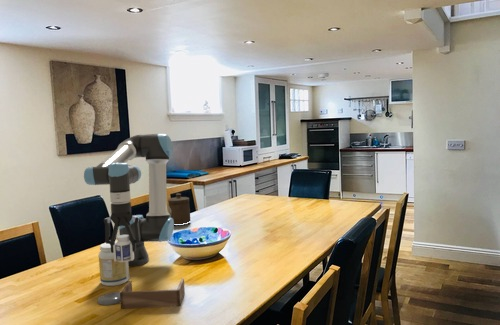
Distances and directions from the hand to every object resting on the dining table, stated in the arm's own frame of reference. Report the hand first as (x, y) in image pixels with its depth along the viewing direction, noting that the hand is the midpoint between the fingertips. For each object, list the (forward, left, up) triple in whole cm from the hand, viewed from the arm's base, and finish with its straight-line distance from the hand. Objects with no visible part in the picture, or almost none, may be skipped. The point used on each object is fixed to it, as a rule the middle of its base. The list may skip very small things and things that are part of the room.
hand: (124, 259), depth 157 cm
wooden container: (-124, +2, -15) cm, 125 cm away
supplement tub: (-17, -10, -15) cm, 25 cm away
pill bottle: (0, 0, -1) cm, 1 cm away
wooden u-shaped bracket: (+5, +12, -15) cm, 20 cm away
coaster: (+2, -5, -15) cm, 16 cm away
